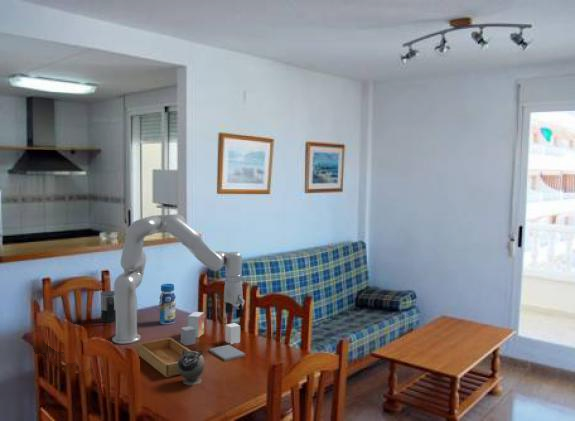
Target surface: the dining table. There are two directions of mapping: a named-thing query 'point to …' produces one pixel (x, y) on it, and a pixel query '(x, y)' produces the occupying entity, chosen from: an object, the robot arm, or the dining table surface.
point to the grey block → (188, 335)
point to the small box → (197, 322)
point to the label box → (232, 333)
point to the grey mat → (227, 352)
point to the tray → (162, 355)
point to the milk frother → (108, 306)
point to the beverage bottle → (167, 304)
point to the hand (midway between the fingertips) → (234, 314)
